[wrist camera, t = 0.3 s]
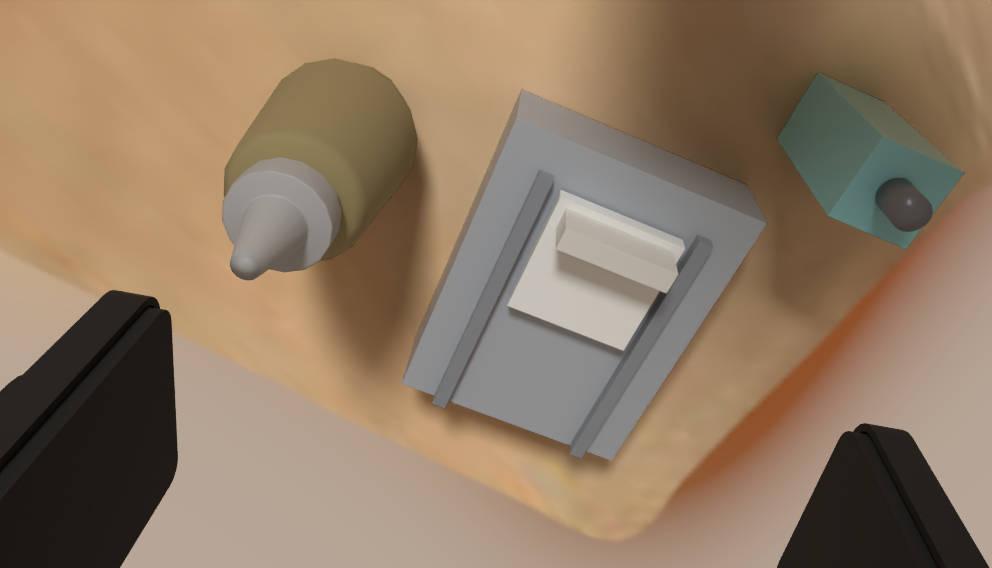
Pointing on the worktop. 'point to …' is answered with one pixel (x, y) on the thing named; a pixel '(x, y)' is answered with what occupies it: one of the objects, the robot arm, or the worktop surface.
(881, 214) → the teal rectangular bottle
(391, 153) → the squeeze bottle
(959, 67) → the worktop surface
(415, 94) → the worktop surface
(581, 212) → the shutter
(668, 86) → the worktop surface
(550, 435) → the grey flat box
